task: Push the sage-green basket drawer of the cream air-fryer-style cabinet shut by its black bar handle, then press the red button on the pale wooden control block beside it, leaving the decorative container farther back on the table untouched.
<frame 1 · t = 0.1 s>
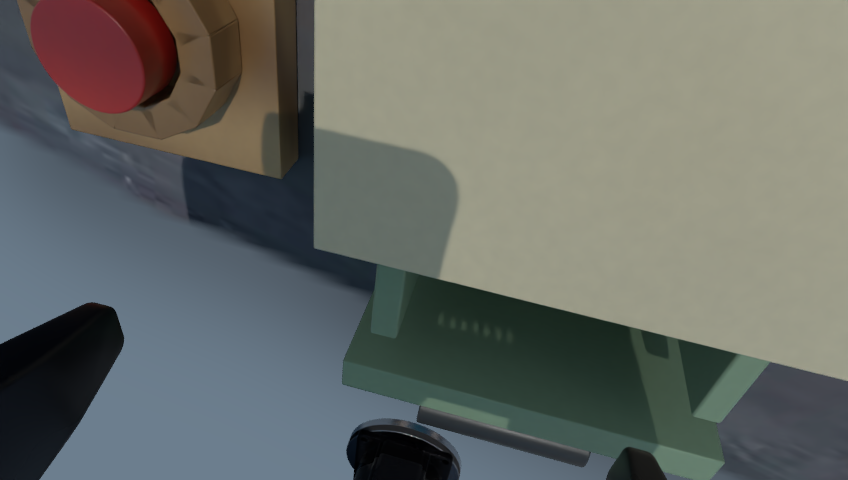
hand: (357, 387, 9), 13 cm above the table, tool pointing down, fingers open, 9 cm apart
drawer: (563, 248, 17), point 5 cm above the table, slide at 5.0 cm
control block: (179, 12, 20), on the table
red button: (106, 48, 17), point 4 cm above the table, slide at 0.1 cm
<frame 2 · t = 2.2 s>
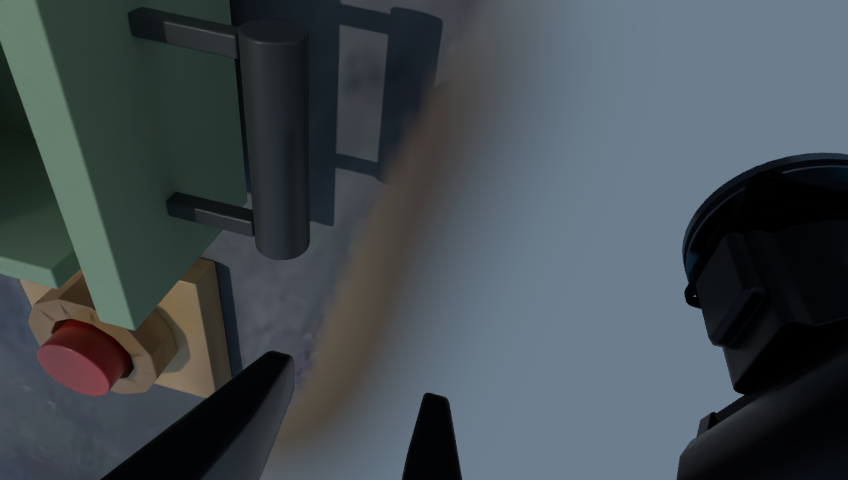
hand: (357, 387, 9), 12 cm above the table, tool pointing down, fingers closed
drawer: (32, 76, 16), point 5 cm above the table, slide at 5.0 cm
control block: (137, 301, 30), on the table
red button: (85, 357, 27), point 4 cm above the table, slide at 0.1 cm
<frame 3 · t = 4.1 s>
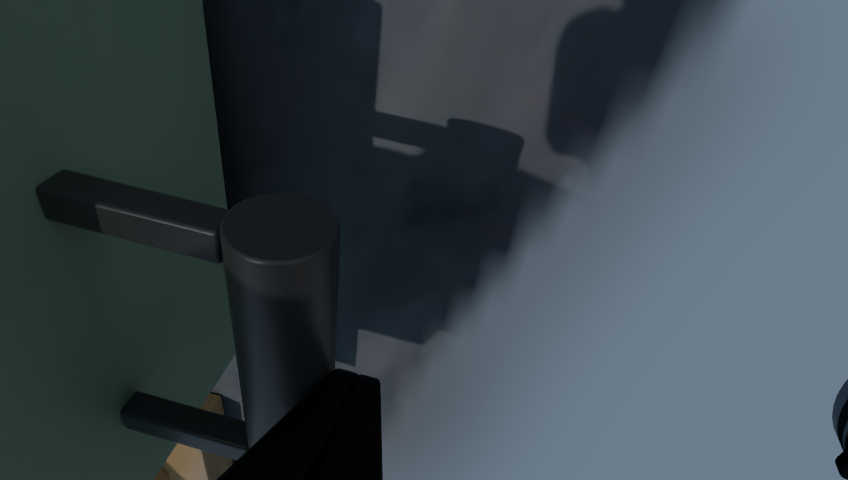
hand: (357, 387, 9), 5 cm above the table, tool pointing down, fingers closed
control block: (125, 426, 24), on the table
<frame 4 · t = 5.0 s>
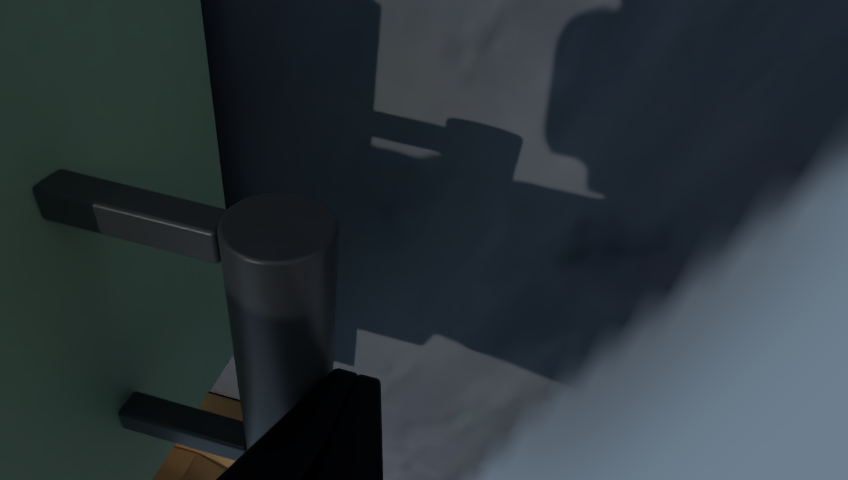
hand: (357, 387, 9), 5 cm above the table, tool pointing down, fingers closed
control block: (210, 451, 24), on the table
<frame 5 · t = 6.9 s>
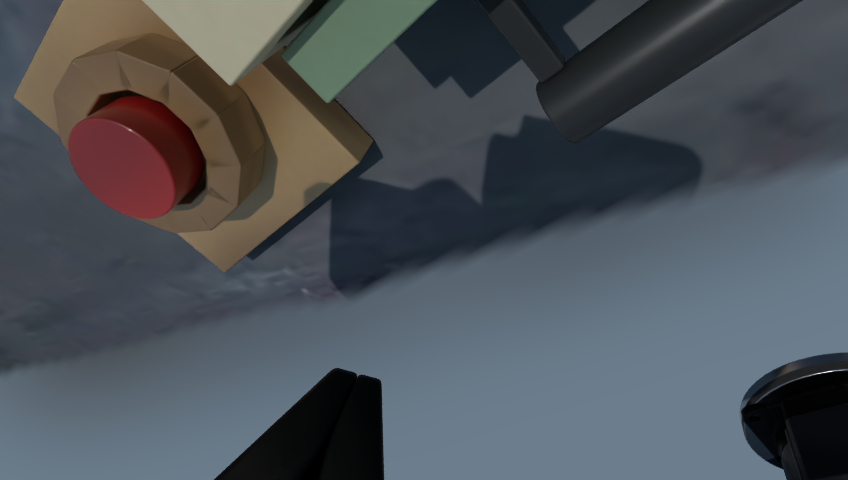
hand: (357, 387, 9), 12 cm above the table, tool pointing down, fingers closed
control block: (204, 109, 21), on the table
red button: (138, 158, 18), point 4 cm above the table, slide at 0.1 cm
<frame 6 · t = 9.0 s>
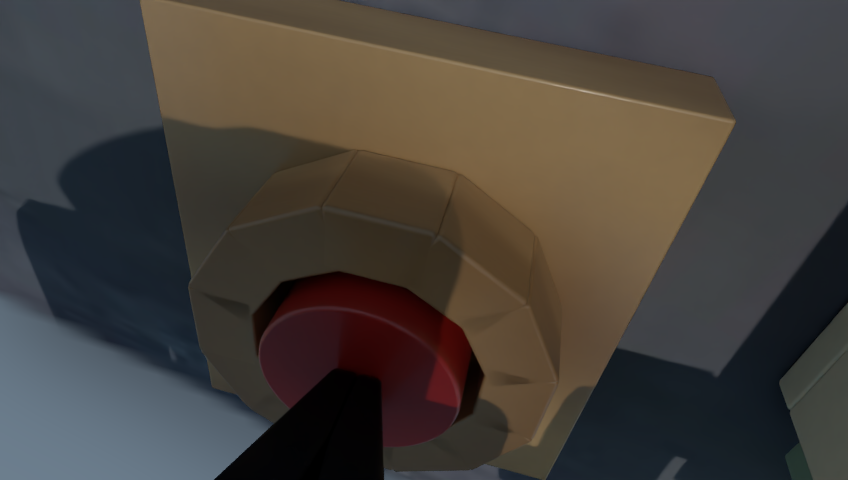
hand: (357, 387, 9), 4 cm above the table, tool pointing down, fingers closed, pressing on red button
control block: (410, 246, 12), on the table
red button: (371, 347, 10), point 3 cm above the table, slide at -0.8 cm, touching gripper
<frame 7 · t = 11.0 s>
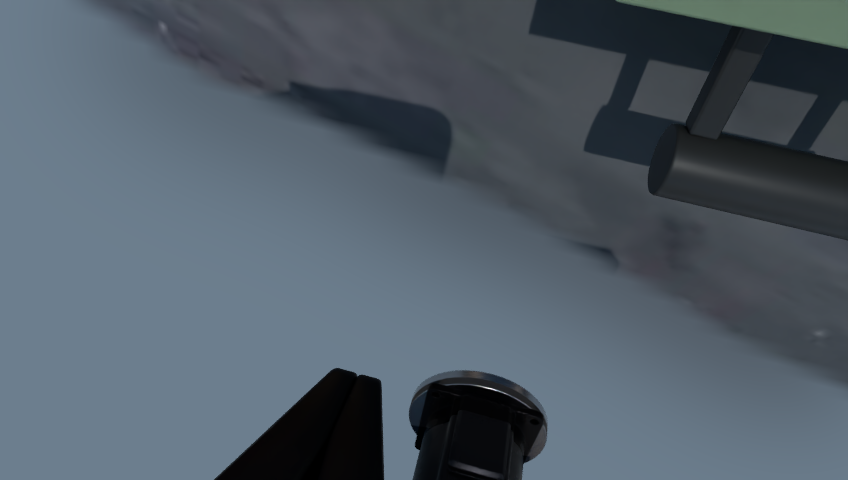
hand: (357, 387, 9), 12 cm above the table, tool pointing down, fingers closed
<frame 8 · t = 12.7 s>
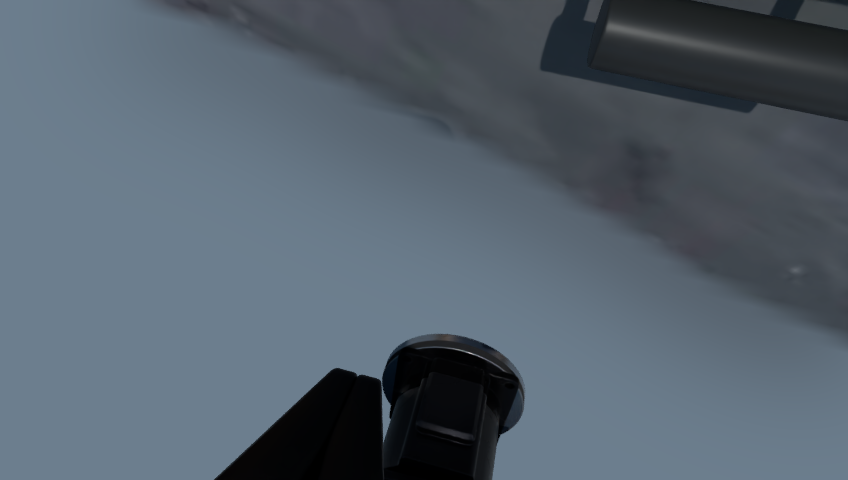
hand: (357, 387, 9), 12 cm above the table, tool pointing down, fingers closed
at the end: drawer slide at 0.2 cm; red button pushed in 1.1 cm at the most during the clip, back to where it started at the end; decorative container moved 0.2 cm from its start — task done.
